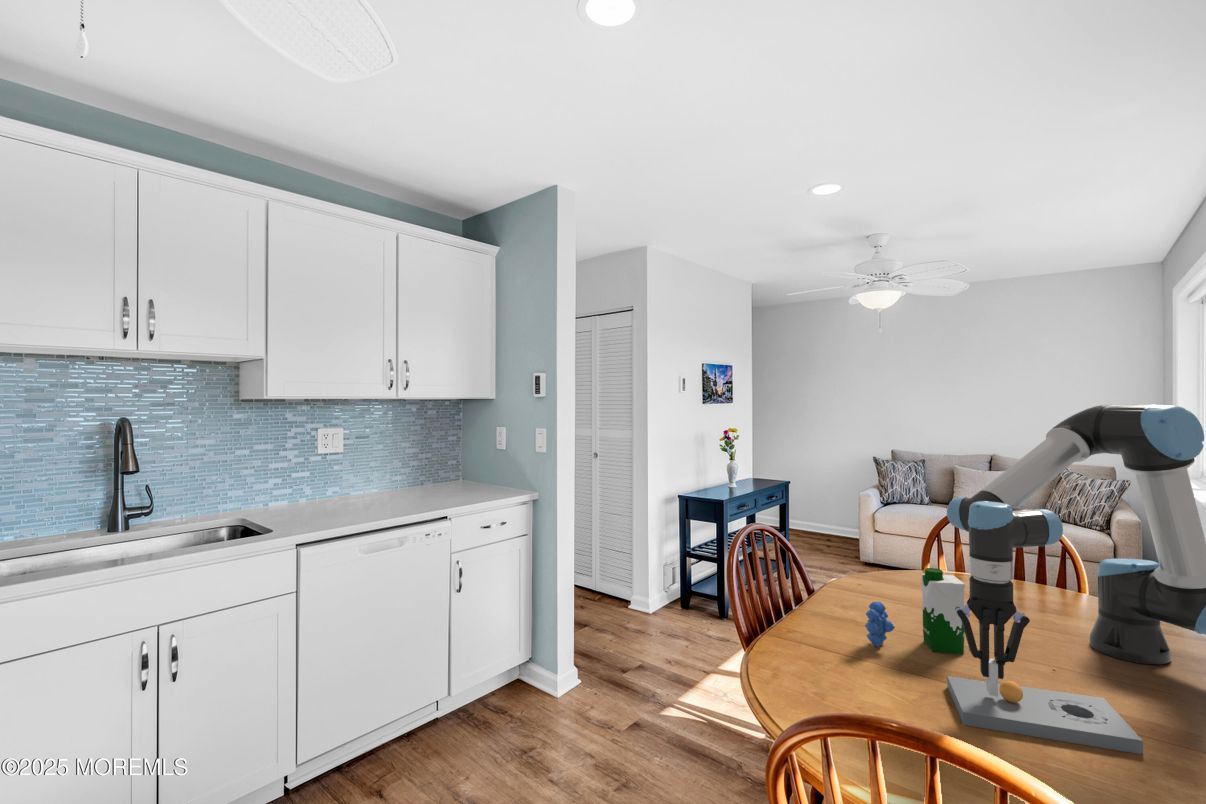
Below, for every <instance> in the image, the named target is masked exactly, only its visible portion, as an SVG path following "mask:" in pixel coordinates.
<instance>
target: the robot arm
mask: <svg viewBox="0 0 1206 804" xmlns="http://www.w3.org/2000/svg"><path fill="white" fill-rule="evenodd" d="M1204 441H1205V433H1204V429H1203V426H1202V424H1201V421H1200V420H1199V419H1198V417H1197V416H1196V415H1195V414H1194V413H1193V412H1192V411H1191V410H1189V409H1186V408H1185V407H1182V406H1180V405H1167V404H1162V403H1154V404H1153V403H1152V404H1101V405H1095V406H1092V407H1088V408H1086V409H1084V410H1080V411H1079V412H1077V413H1075V414H1073V415H1070V416H1068V417H1067V418H1065V419H1064V420H1062V421H1060V422H1059V423H1057V425H1055V426H1054V427H1052V428H1051V429H1050V430H1049V431H1047V433H1046V435H1045V439H1044V440H1043V441H1041V442H1040V443H1039V444H1037V446H1035V447H1033V449H1031V450H1030V451H1029V452H1027V453H1026V454H1024V456H1023V457H1021V458H1020V459H1019V460H1018V461H1016V462H1015V463H1014V464H1013V465H1011V466H1010V467H1008V468H1007V469H1006V470H1005V471H1004V472H1002V473H1001V474H999V475H997V477H995V479H993V480H991V481H990V482H989V483H988V484H987V485H985V486H984V487H982V489H980V490H979V491H978V492H976V494H974V495H973V496H971V497H970V498H969V497H964V496H962V497H956V498H954V499H952V500H951V501H950V502H949V503H948V505H947V507H946V516H947V517H946V518H947V520H948V521H949V523H950V524H951V526H953V527H954V528H956V529H960V530H962V531H965V532H968V546H969V549H968V550H969V555H968V556H969V557H968V558H969V560H968V563H969V565H968V566H969V568H968V570H969V572H968V573H969V575H970V577H969V596H968V599H967V601H966V604H964V606H962V607H956V608H955V611H956V613H957V614H958V616H959V617H960V618H961V621H962V625H963V628H964V636H965V638H966V642H967V644H968V649H969V652H970V654H971V655H972V657H973V658H976V659H979V660H980V661H979V662H980V663H979V665H980V667H979V668H980V669H979V670H980V673H981V675H982V677H983V678H985V681H986V689H987V691H988V693H989V695H992V696H998V683H999V680H1003V679H1004V677H1005V673H1004V671H1005V667H1004V666H1005V665H1006V663H1014V662H1015V661H1016V656H1017V654H1018V650H1019V646H1020V643H1021V640H1022V636H1023V633H1024V629H1025V628H1026V627H1027V625H1029V623H1030V622H1031V619H1030V618H1029V617H1028V616H1027V615H1026V614H1025V613H1024V612H1023V613H1021V612H1020V611H1019V610H1017V607H1016V605H1015V603H1014V582H1012V581H1013V579H1014V565H1013V564H1014V562H1013V561H1014V549H1019V548H1020V549H1021V548H1033V547H1040V548H1041V547H1045V546H1048V545H1049V546H1050V545H1053V544H1056V543H1057V542H1059V541H1060V540H1062V536H1063V534H1064V526H1063V523H1062V520H1061V519H1060V517H1059V516H1058V515H1057V514H1056V513H1054V512H1053V511H1051V510H1049V509H1045V508H1036V507H1035V508H1031V509H1029V508H1028V509H1025V508H1020V506H1022V505H1023V504H1024V503H1026V501H1028V500H1029V499H1030V498H1032V497H1033V496H1034V495H1035V494H1037V493H1038V492H1039V491H1040V490H1042V489H1043V488H1044V487H1045V486H1046V485H1048V484H1049V483H1050V482H1052V481H1053V480H1054V479H1055V478H1056V477H1058V476H1059V475H1060V474H1062V473H1063V472H1064V471H1066V469H1068V468H1069V467H1070V466H1071V465H1073V464H1074V463H1081V462H1084V461H1086V460H1087V459H1088V458H1089V457H1091V456H1094V455H1101V454H1111V455H1121V458H1122V462H1123V465H1124V468H1125V469H1127V470H1129V471H1130V472H1132V473H1134V474H1135V477H1136V481H1137V484H1138V488H1139V492H1140V496H1141V500H1142V504H1143V507H1144V511H1145V514H1146V519H1147V522H1148V526H1149V529H1150V533H1151V539H1152V541H1153V545H1154V548H1155V553H1156V558H1157V561H1158V562H1156V561H1153V560H1148V559H1141V558H1139V559H1137V558H1106V559H1102V560H1100V561H1099V563H1098V568H1097V574H1096V577H1097V604H1098V605H1097V607H1098V609H1097V610H1098V614H1097V615H1098V616H1097V618H1096V620H1095V622H1094V624H1093V627H1092V629H1091V632H1090V634H1089V645H1090V646H1091V648H1093V649H1094V650H1096V651H1098V652H1099V653H1102V654H1104V655H1107V656H1110V657H1112V658H1115V659H1119V660H1122V661H1127V662H1132V663H1137V664H1142V665H1143V664H1145V665H1166V664H1168V663H1170V662H1171V661H1172V659H1171V658H1172V655H1171V653H1172V652H1171V648H1170V647H1169V644H1168V642H1167V639H1166V636H1165V635H1164V632H1163V629H1162V628H1161V627H1162V626H1161V622H1163V623H1167V624H1170V625H1173V626H1176V627H1179V628H1183V629H1186V630H1190V631H1192V632H1195V633H1197V634H1198V635H1205V636H1206V537H1205V534H1204V530H1203V525H1202V523H1201V517H1200V514H1199V510H1198V507H1197V506H1198V505H1197V503H1196V498H1195V494H1194V491H1193V490H1194V489H1193V487H1192V484H1191V479H1190V474H1189V472H1188V471H1189V470H1188V469H1189V468H1190V467H1191V466H1192V465H1193V464H1194V463H1195V458H1196V457H1198V456H1199V455H1200V454H1201V452H1202V451H1203V449H1204V446H1205V445H1204V444H1203V442H1204ZM970 611H971V612H972V613H973V615H974V616H975V617H976V619H977V620H978V624H979V625H978V626H979V628H978V629H979V650H978V645H977V642H976V639H975V635H974V633H973V628H972V625H971V622H970V619H969V618H970V617H971V613H970ZM1011 618H1012V620H1013V623H1012V626H1011V630H1010V633H1009V637H1008V640H1007V644H1006V647H1005V630H1006V629H1005V624H1007V623H1008V622H1009V621H1010V620H1011ZM991 625H993V655H994V656H993V657H994V658H990V630H991V629H990V628H991V627H990V626H991Z"/></svg>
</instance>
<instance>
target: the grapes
mask: <svg viewBox="0 0 1206 804" xmlns="http://www.w3.org/2000/svg"><path fill="white" fill-rule="evenodd" d="M868 608H869V610H868V611H866V613H865V615H866V618H868V620H867V622H866V623H865V625H864V627H865V629H866V630H867V632H868V634H867V633H866V637H867V640H869V642H870V643H871V644H872V645H873V647H876V648H879V647H880V646H882V645H883V644H884V641H886V640H887V638H888V637H887V635H886V633H891V632H893V630H895V628H896V627H895V625H894V624H893V623H892V621H890V620H889V619H888V618H889V615H888V613H887V612H886V609H887V608H886V606H885V605H884V603H882V602H881V601H872V602H870V604H869V605H868Z"/></svg>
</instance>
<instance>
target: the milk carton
mask: <svg viewBox="0 0 1206 804" xmlns="http://www.w3.org/2000/svg"><path fill="white" fill-rule="evenodd" d="M943 572H944V571H943V570H942V569H939V568H933V567H927V568H924V573H921V574H920V576H921V577H920V578H921V593H922V634H923V635H922V637H923V642H924V643H925V645H926V646H927V648H929V649H930V651H931V652H932V653H937V654H952V655H963V656H964V654H965V632H964V628H963V625H962V621H961V618H960V617H959V616H958V614H957V613H956V611H955V608H956V607H962V606H965V590H966V589H965V588H966V584H965V582H963V581H961V580H960V579H959V578H957V576H955V575H953V574H951V575H950V574H944V573H943Z"/></svg>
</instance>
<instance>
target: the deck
mask: <svg viewBox="0 0 1206 804" xmlns="http://www.w3.org/2000/svg"><path fill="white" fill-rule="evenodd" d="M946 678H947V679H946V680H947V685H946V686H947V690H948V693H949V694H950V697H951V700H952V701H953V704H954V706H955V708H956V710H957V711H956V712H957V714H958V716H959V718H960V720H961V723H962V725H963V726H969V727H973V728H974V727H975V728H980V729H985V730H986V729H987V730H992V731H998V732H1004V733H1009V734H1010V733H1011V734H1017V735H1023V736H1028V737H1035V738H1041V739H1048V740H1054V741H1058V742H1059V741H1060V742H1064V743H1072V744H1078V745H1083V746H1090V747H1095V748H1102V749H1108V750H1114V751H1120V752H1125V753H1132V754H1138V755H1144V740H1143V739H1142V738H1141V737H1140V736H1139V735H1138V733H1137V732H1136V731H1135V730H1134V729H1133V728H1132V727H1131V726H1130V725H1129V723H1127V721H1125V720H1124V718H1122V716H1121V715H1120V714H1119V713H1118V712H1117V711H1116V710H1115V709H1114V708H1113V706H1112V705H1110V703H1109V702H1108V701H1107V700H1106V699H1105V698H1104V697H1099V696H1091V695H1085V694H1078V693H1072V692H1071V693H1070V692H1065V691H1064V692H1063V691H1058V690H1050V689H1042V688H1035V687H1029V686H1022V685H1019V686H1020V687H1021V689H1022V691H1023V698H1022V699H1021V701H1019V702H1016V703H1012V702H1009V701H1007V700H1005V699H1004V698H1003V697H1002V696H1001V694H1000V691H999V687H1000V684H1001V683H1002V682H1001V683H1000V682H998V696H992V695H989V693H988V691H987V689H986V680H985V681H984V680H977V679H970V678H964V677H958V676H950V675H947V677H946Z"/></svg>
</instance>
